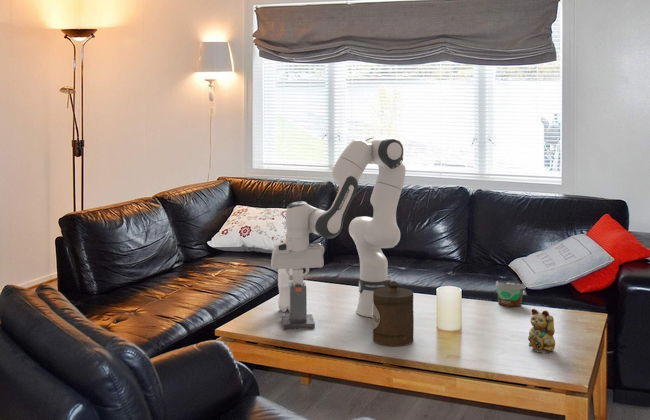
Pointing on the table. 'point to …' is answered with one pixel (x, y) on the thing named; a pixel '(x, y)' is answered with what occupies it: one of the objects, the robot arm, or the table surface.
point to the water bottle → (283, 289)
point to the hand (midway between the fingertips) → (297, 279)
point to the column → (297, 276)
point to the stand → (297, 310)
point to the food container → (510, 294)
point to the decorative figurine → (542, 332)
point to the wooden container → (393, 315)
